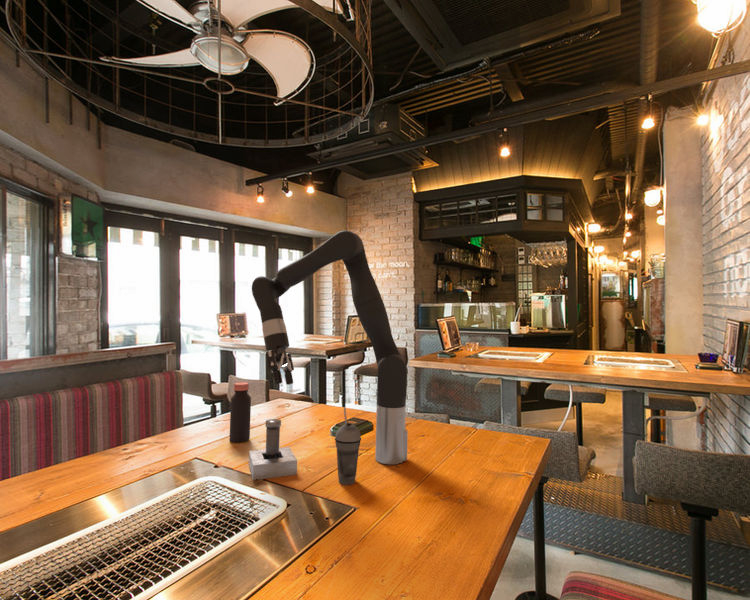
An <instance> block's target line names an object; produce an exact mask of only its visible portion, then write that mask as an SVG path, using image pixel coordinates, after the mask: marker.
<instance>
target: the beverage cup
mask: <svg viewBox="0 0 750 600" xmlns="http://www.w3.org/2000/svg"><path fill="white" fill-rule="evenodd" d="M346 410H347V409H346V407H343V412H344V413H343V414H344V424H342V425H341V426H339V427H338V429H337V431H336V433H335V438H334V441H335V447H336V459H337V460H336V461H337V463H336V465H337V476H338V483H339V484H340V485H345V486H350V485H353V484H355V482H356V477H357V470H358V469H357V468H358V460H359V452H360V451H359V450H360V447H361V446H360V445H361V441H362V435H361V432H360V430H359V428H358V427H357V426H356V425H354V424H353V423H352V424H351V423H348V422H347V421H348V420H347V411H346Z"/></svg>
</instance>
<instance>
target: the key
mask: <svg viewBox="0 0 750 600" xmlns="http://www.w3.org/2000/svg"><path fill="white" fill-rule="evenodd" d="M280 427H282V419H279V418H269V419H266V420H265V428H266V434H265V436H266V437H265V449H266V458H265V460H266V459H275V458H279V448H280V437H281V433H280V431H281V429H280Z"/></svg>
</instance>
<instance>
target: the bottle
mask: <svg viewBox="0 0 750 600" xmlns="http://www.w3.org/2000/svg"><path fill="white" fill-rule="evenodd" d="M233 386H234V387H233V392H234V394H233V395H232V396H231V398H230V415H229V416H230V417H229V441H230V443H234V444H241V443H245V442H248V441H250V437H251V436H250V435H251V409H252V408H251V407H252V406H251V405H252V404H251V403H252V396H250V394H249V393H248V392H249V388H250V387H249V382H242V381H241V382H235V383H234V385H233Z"/></svg>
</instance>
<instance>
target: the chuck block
mask: <svg viewBox="0 0 750 600" xmlns="http://www.w3.org/2000/svg"><path fill="white" fill-rule="evenodd" d="M265 458H266V448H264V449H254V450H249V452H248V466H249V470H250V471H249V472H250V475H251V479H252V481H256V479H258V480H264V479H265V480H266V479H271V478H280V477H288V476H295V475H298V473H297V472H298V459H297V457H296V456H295V454H294V452H293V451H292V448H291V447H290V446H282V447H279V458H275V459H266V460H265Z"/></svg>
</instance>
